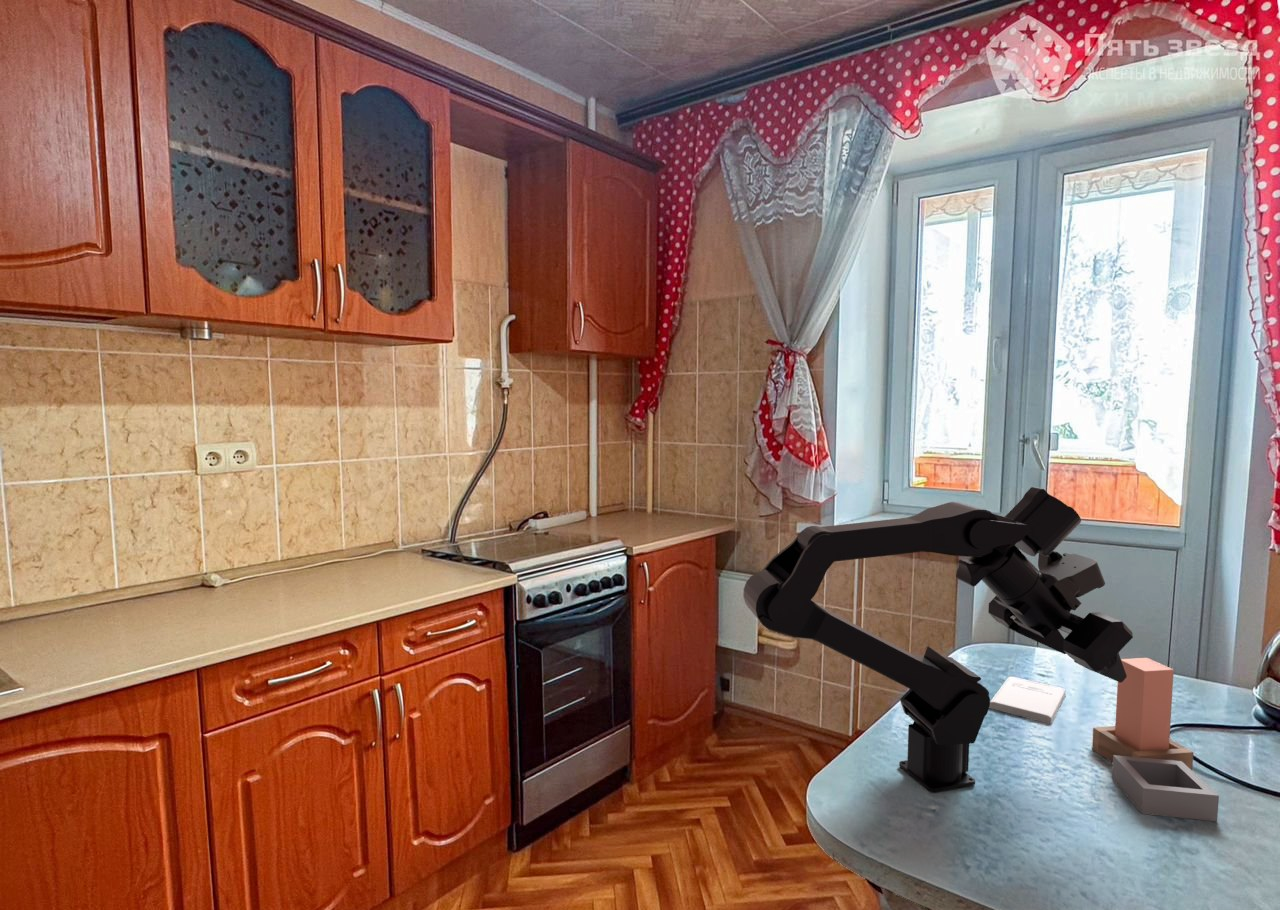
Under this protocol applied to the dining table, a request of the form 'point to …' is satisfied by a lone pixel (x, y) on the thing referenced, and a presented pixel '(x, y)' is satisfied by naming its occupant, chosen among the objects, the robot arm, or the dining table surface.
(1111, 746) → the walnut socket
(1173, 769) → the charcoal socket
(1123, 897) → the dining table surface
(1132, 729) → the peg
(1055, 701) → the external hard drive
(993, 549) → the robot arm
